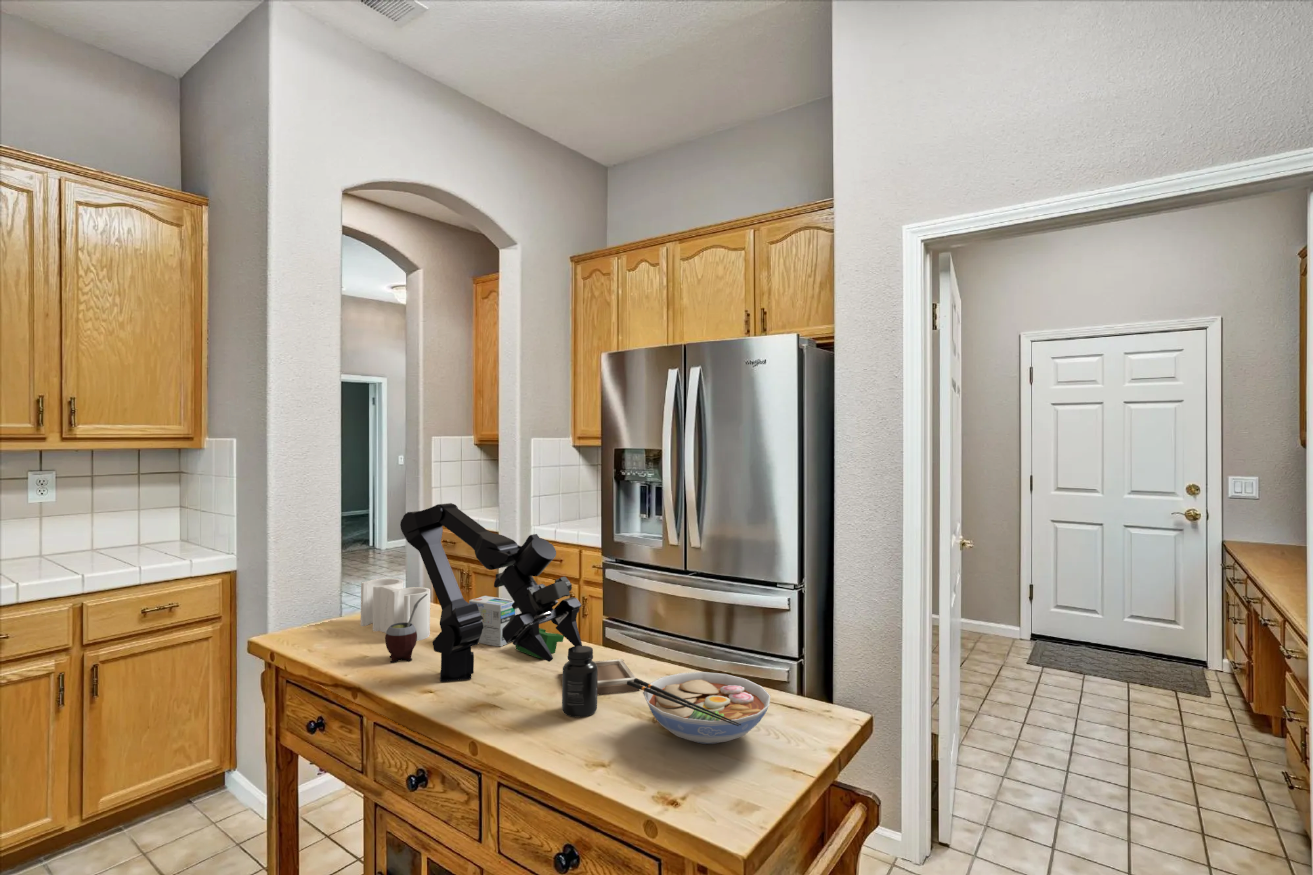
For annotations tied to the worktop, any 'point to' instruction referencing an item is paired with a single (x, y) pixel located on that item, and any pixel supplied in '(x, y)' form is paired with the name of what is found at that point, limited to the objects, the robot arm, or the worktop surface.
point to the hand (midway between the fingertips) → (566, 653)
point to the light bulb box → (494, 618)
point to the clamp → (549, 640)
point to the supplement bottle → (579, 683)
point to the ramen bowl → (705, 705)
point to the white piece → (394, 605)
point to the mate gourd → (402, 639)
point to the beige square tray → (614, 677)
